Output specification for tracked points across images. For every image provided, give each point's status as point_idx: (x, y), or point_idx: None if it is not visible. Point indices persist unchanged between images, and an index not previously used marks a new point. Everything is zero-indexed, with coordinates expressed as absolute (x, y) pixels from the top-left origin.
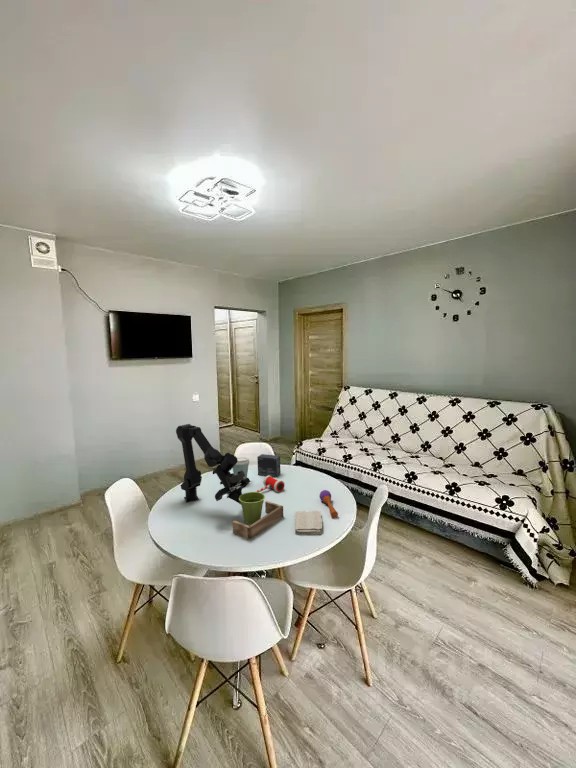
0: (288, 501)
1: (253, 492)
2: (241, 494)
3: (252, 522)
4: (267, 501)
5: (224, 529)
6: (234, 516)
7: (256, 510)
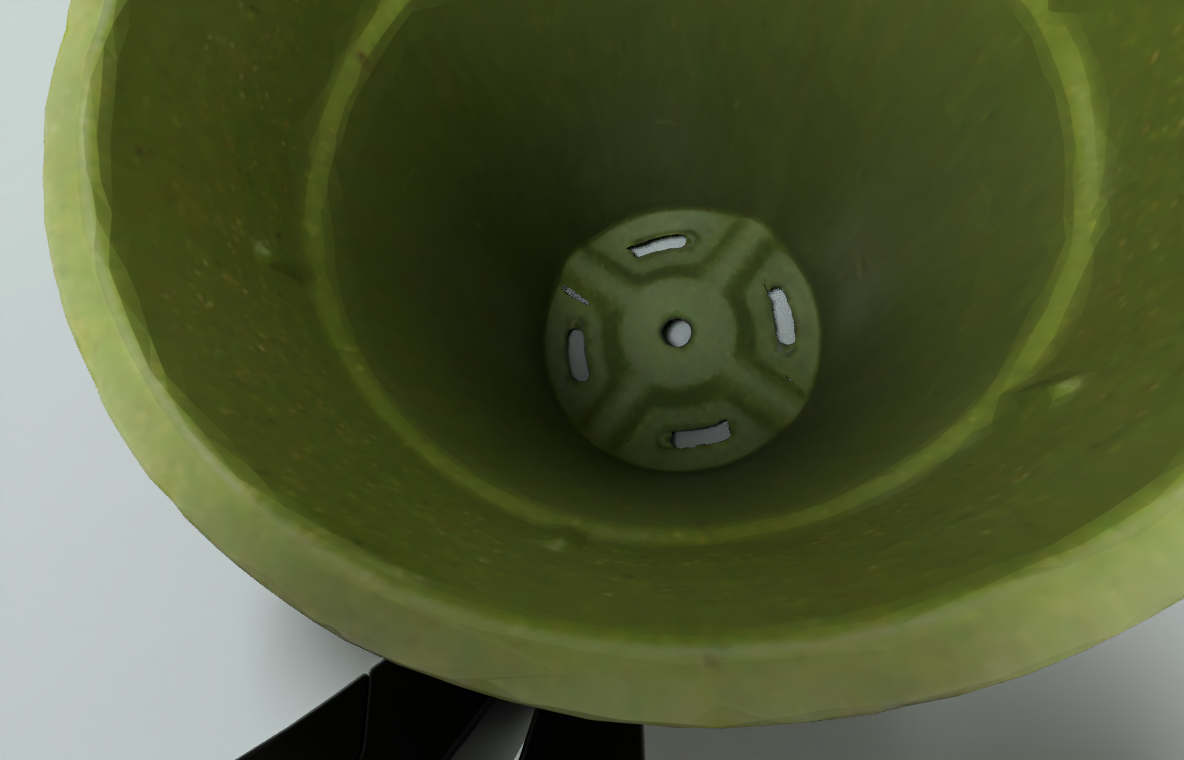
0: (18, 75)
1: (99, 164)
2: (308, 747)
3: (822, 261)
4: None
5: (1154, 750)
6: None
7: (864, 8)
